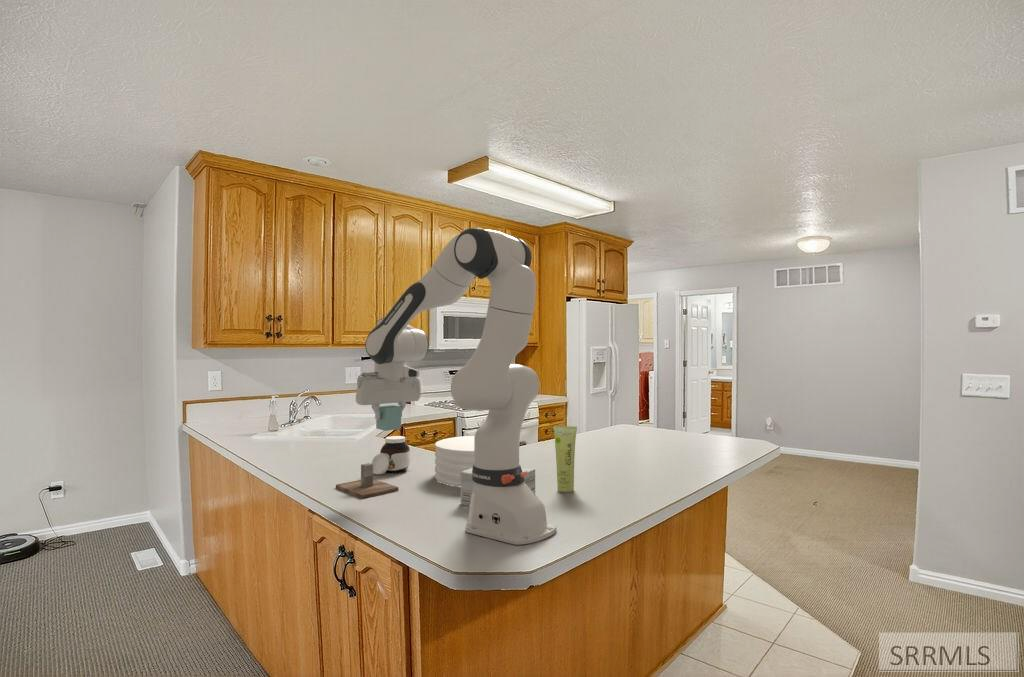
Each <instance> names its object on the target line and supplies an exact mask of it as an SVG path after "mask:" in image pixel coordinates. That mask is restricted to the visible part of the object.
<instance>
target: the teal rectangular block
mask: <svg viewBox="0 0 1024 677" xmlns="http://www.w3.org/2000/svg"><path fill="white" fill-rule="evenodd" d="M378 410H379V412H380V413H383V416H382V417H383V419H380V420H377V419H375V420H376V424H375V425H376V426H375V429H376V430H381V431H385V432H386V431H387V432H388V431H395V430H401V429H402V417H401V407H400V405H394V404H388V405H386V404H384V405H380V408H378Z"/></svg>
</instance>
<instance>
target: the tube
mask: <svg viewBox="0 0 1024 677" xmlns="http://www.w3.org/2000/svg"><path fill="white" fill-rule="evenodd" d="M552 429H553V435H554V436H553V437H554V447H555V448H554V449H555V458H556V486H557V491H558V492H561V493H572V492H574V490H575V456H576V455H575V453H576V452H575V451H576V437H577V431H578V430H577V429H578V427H577V426H570V425H569V426H568V425H553V426H552Z"/></svg>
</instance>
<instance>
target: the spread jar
mask: <svg viewBox="0 0 1024 677" xmlns="http://www.w3.org/2000/svg"><path fill="white" fill-rule="evenodd" d="M384 440H385V441H384V442H385V443H384V444H383V445H382V447H381V449H380V452H379V453H378V454H376V455H375V456H373V458H372V460H371V463H370V464H373V475H379V476H380V475H383V474H385V473H387V474H400V473H404V472H406V471H407V470H408V468H409V467H410V465H411V464H410V463H411V448H410V446H409V444H407V443H406V437H405V436H403V435H393V436H392V435H389V436H386V437H385V438H384Z"/></svg>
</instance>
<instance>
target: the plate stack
mask: <svg viewBox="0 0 1024 677" xmlns="http://www.w3.org/2000/svg"><path fill="white" fill-rule="evenodd" d="M474 437H475V435H464V436H454V437H448V438H443V439H439V440H437V441H435V444H434V448H435V452H434V456H435V460H434V472H435V474H434V479H436V480H437V481H439V482H441V483H444V484H448V485H453V486H452V487H454V486H461V472H462V471H464V470H467V469H470V468H473V465H474ZM436 480H435V481H436ZM437 481H436V482H437ZM439 482H438V483H439ZM441 483H440V484H441ZM444 484H443V485H444ZM448 485H447V486H448Z"/></svg>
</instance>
